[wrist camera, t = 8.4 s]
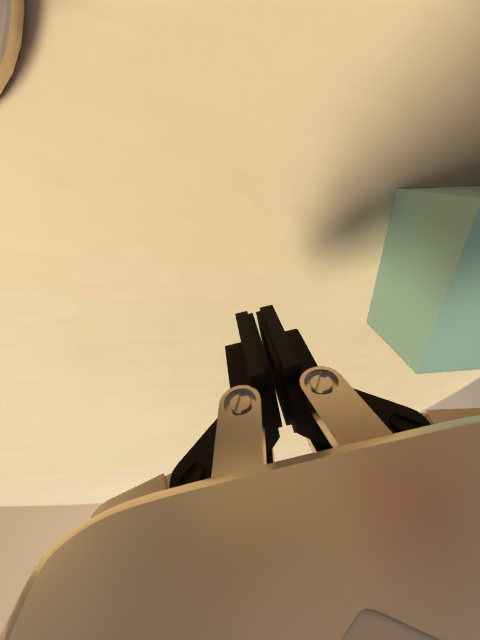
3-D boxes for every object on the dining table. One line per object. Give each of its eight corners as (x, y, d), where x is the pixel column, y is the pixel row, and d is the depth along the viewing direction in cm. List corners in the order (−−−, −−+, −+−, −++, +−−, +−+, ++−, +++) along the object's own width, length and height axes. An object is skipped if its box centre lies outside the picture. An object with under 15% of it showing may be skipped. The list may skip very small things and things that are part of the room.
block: (395, 188, 16) (482, 198, 11) (507, 184, 16) (643, 192, 11) (365, 321, 20) (416, 373, 15) (454, 315, 21) (534, 365, 16)
